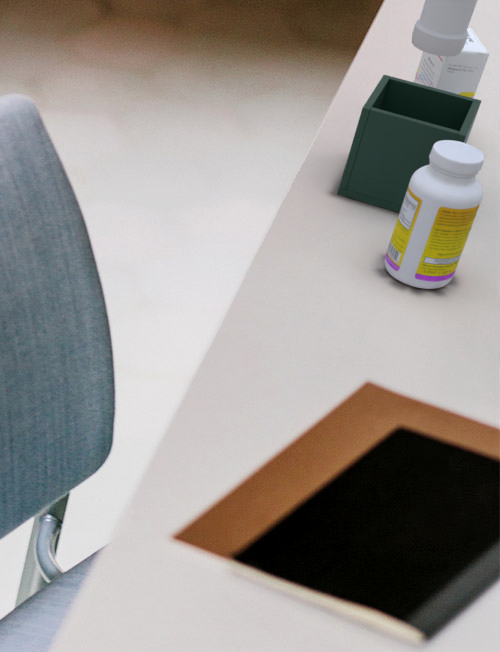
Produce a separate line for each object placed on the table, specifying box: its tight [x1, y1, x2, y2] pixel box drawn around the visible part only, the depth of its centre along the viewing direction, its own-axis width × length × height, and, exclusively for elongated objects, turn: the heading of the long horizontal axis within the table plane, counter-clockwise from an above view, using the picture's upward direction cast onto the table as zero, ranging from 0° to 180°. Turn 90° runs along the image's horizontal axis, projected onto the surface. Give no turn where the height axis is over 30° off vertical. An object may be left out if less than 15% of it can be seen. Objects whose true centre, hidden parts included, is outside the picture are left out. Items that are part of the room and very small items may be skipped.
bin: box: [337, 74, 482, 213], centre depth 126 cm, size 11×11×10 cm
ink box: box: [413, 27, 490, 99], centre depth 137 cm, size 9×5×15 cm, turn 179°
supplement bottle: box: [384, 140, 486, 290], centre depth 112 cm, size 7×7×13 cm
